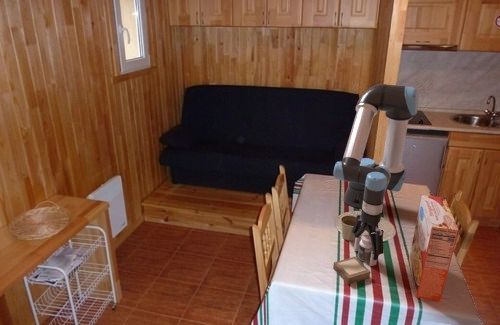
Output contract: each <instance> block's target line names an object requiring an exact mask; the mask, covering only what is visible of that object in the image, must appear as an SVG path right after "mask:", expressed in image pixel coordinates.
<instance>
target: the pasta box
mask: <svg viewBox="0 0 500 325" xmlns="http://www.w3.org/2000/svg"><path fill="white" fill-rule="evenodd" d="M458 234H459V228H458V225H457V223H456V220H455V218H454V215H453V214H452V211H451V209H450V206H449V205H448V202H447V200H446V198H445V197H441V196H433V195H427V194H426V195H424V194H422V195H421V198H420V204H419V208H418V212H417V219H416V222H415V227H414V232H413V238H412V240H411V241H412V242H411V247H410V252H409V257H408V262H409V266H410V268H409V269H410V272H411V273H410V274H411V278H412V282H413V289H414V293H415V298H417V299H423V300H429V301H433V302H435V301H436V302H441V300H442V297H443V292H444V289H445V284H446V281H447V277H448V274H449V269H450V265H451V261H452V259H453V258H452V257H453V254H454V250H455V247H456V242H457V239H458Z"/></svg>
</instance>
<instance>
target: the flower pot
mask: <svg viewBox="0 0 500 325" xmlns="http://www.w3.org/2000/svg"><path fill="white" fill-rule="evenodd" d="M339 219H340V224H341V236H342V239H343V240H345V241H353V242H354V241H355V236H354V233H352V230H353V227H354V225H355V222H356V219H357V215H353V214H352V215H351V214H349V215H348V214H347V215H343V216H341V218H339ZM361 225H362V224H361Z"/></svg>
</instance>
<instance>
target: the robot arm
mask: <svg viewBox="0 0 500 325" xmlns="http://www.w3.org/2000/svg"><path fill="white" fill-rule="evenodd" d="M418 108H419V90H418V89H417V88H416V87H414V86H413V87H412V86H408V85H396V84H394V85H393V84H387V83H378V84H375V85H373V86H371V87H369V88H368V89H367V90H365V91H364V92H363V93H362V95H361V96H360V97H359V98H358V101H357V103H356V106H355V111H356V114H355V117H354V120H353V123H352V127H351V131H350V133H349V137H348V140H347V144H346V147H345V151H344V154H343V157H342V160H341V161H337V162H335V165H334V168H333V177H334V179H336V180H339V181H343V182H348V186H347V188H346V191H345V193H344V194H343V202H344V203H345V204H347V205H348V206H349V207H353V208H356V209H361V212H360V214H357V215H356V217H357V219H356V222H355V225H354V227H353V230H352V233H354V236H355V240H353V242H354V244H353V245H354V246H353V251H354V252H358V250H359V243H360V241H361V238H362V236H363V235H362V234H364V232H365V231H366V232H367V233H368V234H367V235H369V236H370V238H371V243H372V248H373V252H371V259H370V261H369V266H370V267H373V266H376V265H377V261H378V259H379V256H380V255H383V254H385V252H384V230H383V229H380V228H379V223H380V222H381V220H382V212H383V207H384V201H385V200H384V199H385V195H386V191H390V192H397V193H398V192H400V191H401V190H402V189H403V185H404V181H405V179H406V175H407V173H408V170H407V169H405V164H404V163H403V156H404V152H405V144H406V137H407V131H408V125H409V121H410V120H412V119H413V117H414V116H416V115H417V113H418ZM379 111H381V112H385V113H384V114H385V117H386V119H387V124H386V126H387V127H386V133H385V143H384V148H383V149H384V151H383V155H382V157H383V158H382V160H381V161H380V162H379V164H376V160H374V159H372V158H369V157H364V153H365V149H366V146H367V142H368V139H369V135H370V132H371V128H372V124H373V121H374V117H375V116H376V115H377V114H378V112H379ZM361 224H362V225H361Z"/></svg>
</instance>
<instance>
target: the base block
mask: <svg viewBox="0 0 500 325" xmlns="http://www.w3.org/2000/svg"><path fill="white" fill-rule="evenodd" d="M332 266H333V267H332V269H333V270H334V271H335V272H336V274H338V275H339V277H340V278H341V279H342V280H343V281H344V282H345V283H346V284H347V285H350V284H351V285H352V284H354V283H358V282H361V281H364V280H367V279H370V278H371V270H370V269H369V268H368V267H367V266H365V265H364V264H363V262H361V260H360V259H359V258H358V257H356V256H353V257H349V258H345V259H341V260H338V261H334V262H333V265H332Z"/></svg>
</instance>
